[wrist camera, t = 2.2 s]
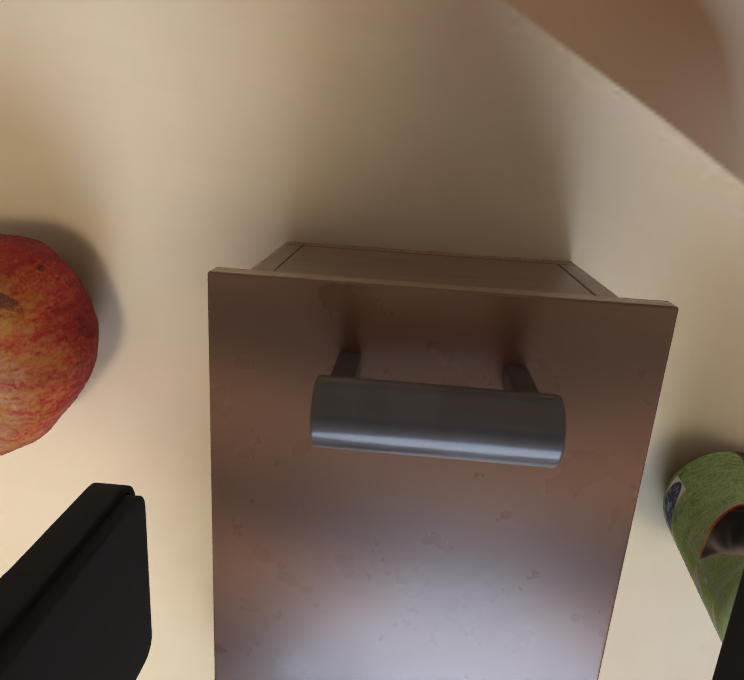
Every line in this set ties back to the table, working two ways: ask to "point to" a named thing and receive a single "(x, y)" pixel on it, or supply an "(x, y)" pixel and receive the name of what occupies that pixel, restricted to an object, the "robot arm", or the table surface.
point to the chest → (433, 268)
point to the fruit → (40, 340)
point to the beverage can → (710, 528)
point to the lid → (422, 474)
